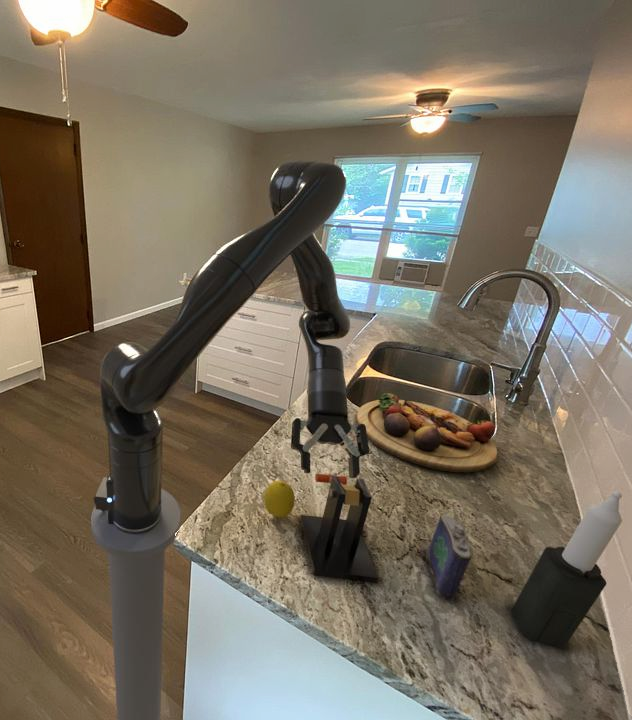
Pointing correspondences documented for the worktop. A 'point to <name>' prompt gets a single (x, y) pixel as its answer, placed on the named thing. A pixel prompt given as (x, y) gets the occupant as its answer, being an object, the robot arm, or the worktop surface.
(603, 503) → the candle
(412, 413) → the wooden plate
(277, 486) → the lemon
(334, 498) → the black lever stand
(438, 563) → the flask
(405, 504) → the worktop surface
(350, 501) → the valve lever
